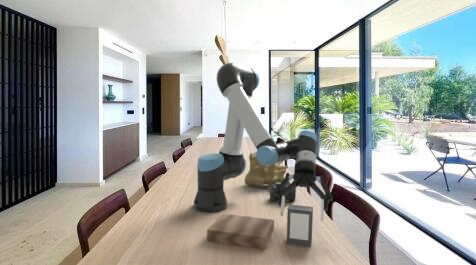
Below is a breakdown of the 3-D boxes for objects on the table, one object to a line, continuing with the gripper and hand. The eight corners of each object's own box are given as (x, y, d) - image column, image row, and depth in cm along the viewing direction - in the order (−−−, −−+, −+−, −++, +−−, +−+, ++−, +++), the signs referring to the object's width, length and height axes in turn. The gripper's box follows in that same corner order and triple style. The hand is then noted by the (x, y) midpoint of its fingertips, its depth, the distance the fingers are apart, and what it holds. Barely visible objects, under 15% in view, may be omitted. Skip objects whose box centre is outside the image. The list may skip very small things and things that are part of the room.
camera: (274, 204, 143) (275, 183, 142) (267, 198, 152) (267, 178, 151) (300, 202, 146) (301, 182, 145) (291, 196, 156) (292, 177, 155)
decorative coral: (232, 161, 185) (265, 136, 182) (253, 186, 192) (285, 162, 189) (237, 181, 161) (275, 153, 158) (261, 208, 168) (298, 182, 165)
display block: (207, 240, 104) (207, 229, 103) (222, 223, 119) (222, 213, 118) (264, 249, 98) (265, 237, 97) (273, 230, 113) (274, 219, 113)
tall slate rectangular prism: (286, 243, 102) (287, 209, 101) (288, 237, 107) (289, 204, 106) (311, 247, 100) (312, 211, 99) (311, 241, 105) (313, 207, 103)
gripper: (272, 157, 118) (264, 207, 105) (340, 161, 111) (340, 215, 98) (274, 168, 124) (266, 217, 110) (339, 172, 117) (339, 225, 104)
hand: (301, 216), depth 104 cm, fingers open, 13 cm apart
